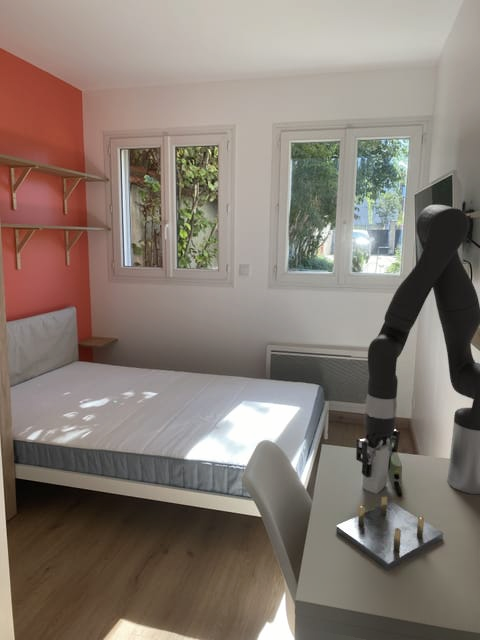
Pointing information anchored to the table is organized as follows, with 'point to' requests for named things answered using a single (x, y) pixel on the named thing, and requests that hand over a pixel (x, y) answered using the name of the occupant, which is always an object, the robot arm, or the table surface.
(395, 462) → the handheld radio
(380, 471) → the skincare box
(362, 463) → the robot arm
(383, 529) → the standoff plate
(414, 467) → the table surface
